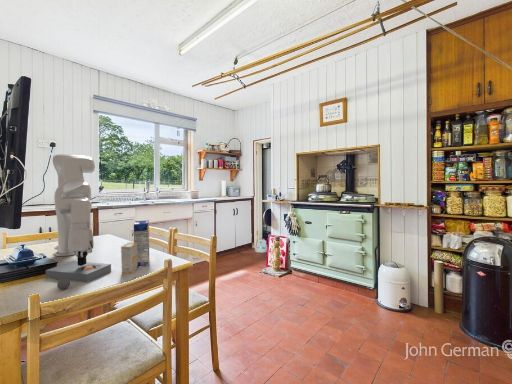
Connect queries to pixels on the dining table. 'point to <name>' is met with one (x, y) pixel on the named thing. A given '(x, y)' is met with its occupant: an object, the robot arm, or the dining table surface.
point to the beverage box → (142, 242)
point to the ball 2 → (88, 268)
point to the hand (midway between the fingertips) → (82, 264)
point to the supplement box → (129, 257)
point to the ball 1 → (63, 283)
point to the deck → (78, 271)
